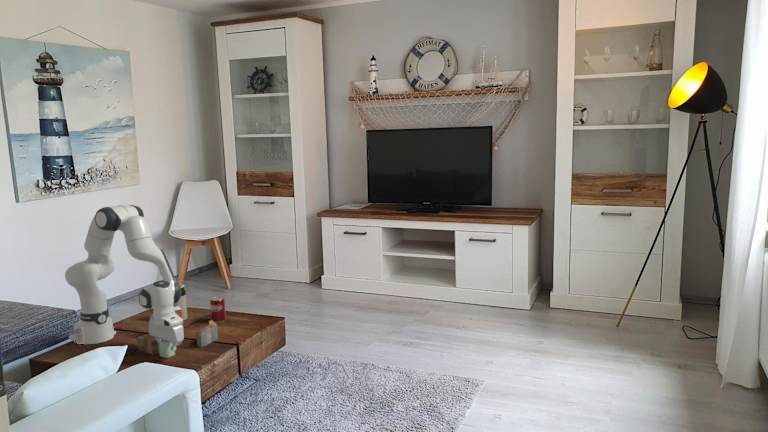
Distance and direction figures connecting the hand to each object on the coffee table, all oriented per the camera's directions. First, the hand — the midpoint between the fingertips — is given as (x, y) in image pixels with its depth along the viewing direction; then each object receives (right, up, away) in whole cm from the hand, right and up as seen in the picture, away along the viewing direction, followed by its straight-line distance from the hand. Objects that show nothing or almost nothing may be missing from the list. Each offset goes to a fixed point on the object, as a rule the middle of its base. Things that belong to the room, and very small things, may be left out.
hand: (167, 348), depth 258 cm
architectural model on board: (+13, -1, +15) cm, 20 cm away
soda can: (+10, +4, +45) cm, 46 cm away
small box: (-6, 0, +26) cm, 27 cm away
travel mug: (-12, +4, +49) cm, 50 cm away
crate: (-7, -2, +11) cm, 13 cm away
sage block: (0, -3, 0) cm, 3 cm away
